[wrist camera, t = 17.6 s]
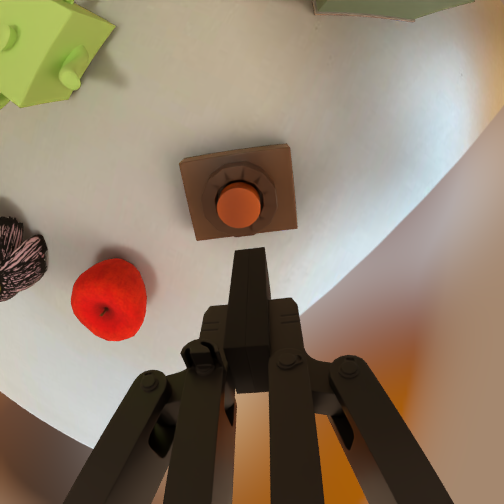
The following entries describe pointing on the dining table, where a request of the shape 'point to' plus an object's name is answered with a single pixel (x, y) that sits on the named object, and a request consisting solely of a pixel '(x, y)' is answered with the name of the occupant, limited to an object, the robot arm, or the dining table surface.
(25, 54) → the teapot
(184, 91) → the dining table surface
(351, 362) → the robot arm
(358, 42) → the dining table surface
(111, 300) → the apple
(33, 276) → the decorative flower
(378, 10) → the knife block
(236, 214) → the button
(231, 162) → the brown button base
